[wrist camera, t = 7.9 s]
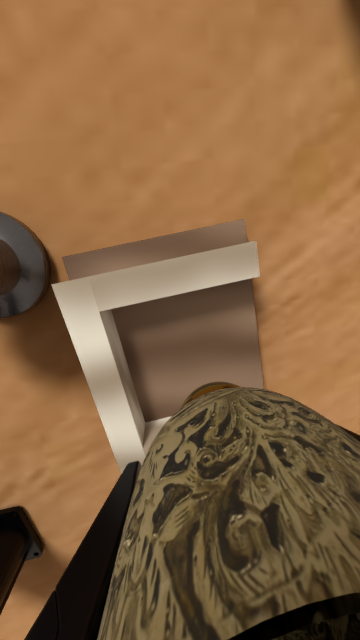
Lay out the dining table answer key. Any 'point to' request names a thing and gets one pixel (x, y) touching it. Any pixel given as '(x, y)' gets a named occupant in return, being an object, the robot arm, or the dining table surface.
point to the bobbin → (21, 267)
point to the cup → (241, 526)
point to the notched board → (161, 326)
